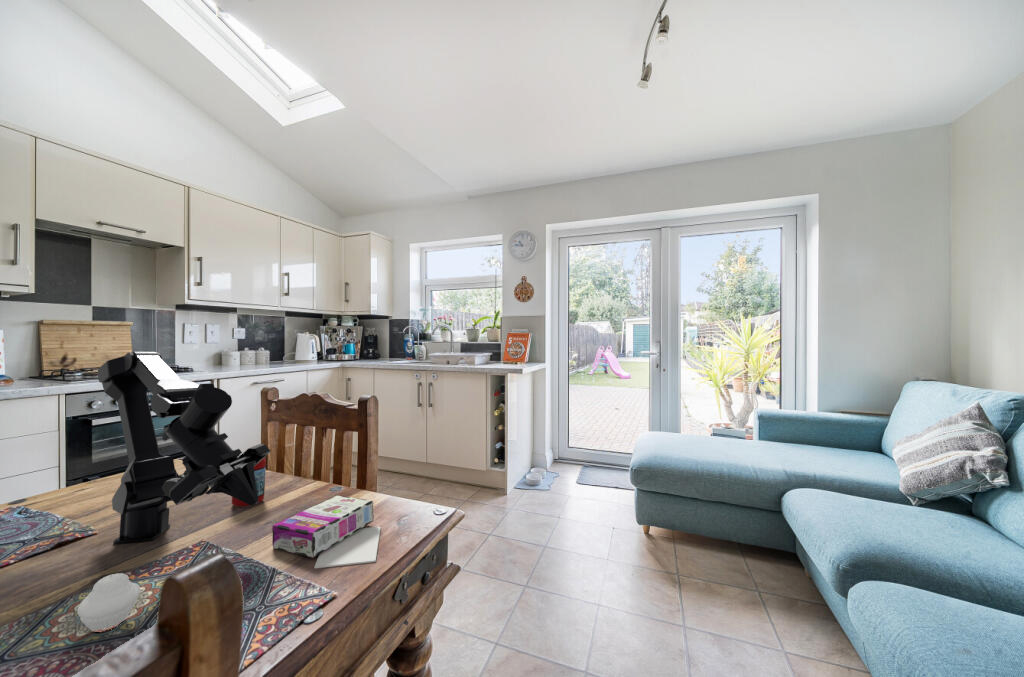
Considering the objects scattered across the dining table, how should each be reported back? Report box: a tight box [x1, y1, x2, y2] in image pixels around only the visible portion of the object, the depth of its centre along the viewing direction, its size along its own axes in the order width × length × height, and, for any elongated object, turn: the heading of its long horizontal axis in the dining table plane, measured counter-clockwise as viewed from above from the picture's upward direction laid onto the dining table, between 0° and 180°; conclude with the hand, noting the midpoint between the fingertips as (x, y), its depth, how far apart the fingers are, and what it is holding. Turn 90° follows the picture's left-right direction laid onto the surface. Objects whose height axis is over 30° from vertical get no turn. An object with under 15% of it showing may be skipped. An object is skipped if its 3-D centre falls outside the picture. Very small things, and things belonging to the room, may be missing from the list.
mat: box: [314, 526, 382, 569], centre depth 77 cm, size 10×14×1 cm
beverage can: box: [231, 454, 267, 508], centre depth 96 cm, size 7×7×12 cm
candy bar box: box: [271, 495, 375, 558], centre depth 81 cm, size 11×5×16 cm
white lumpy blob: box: [76, 572, 141, 631], centre depth 54 cm, size 6×6×7 cm
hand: (255, 503), depth 72 cm, fingers closed
